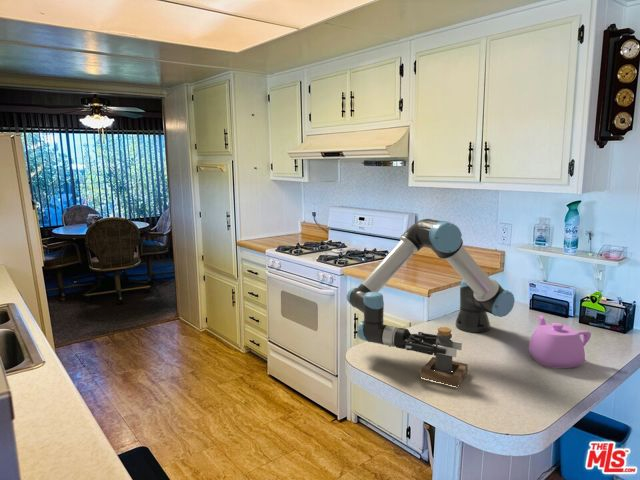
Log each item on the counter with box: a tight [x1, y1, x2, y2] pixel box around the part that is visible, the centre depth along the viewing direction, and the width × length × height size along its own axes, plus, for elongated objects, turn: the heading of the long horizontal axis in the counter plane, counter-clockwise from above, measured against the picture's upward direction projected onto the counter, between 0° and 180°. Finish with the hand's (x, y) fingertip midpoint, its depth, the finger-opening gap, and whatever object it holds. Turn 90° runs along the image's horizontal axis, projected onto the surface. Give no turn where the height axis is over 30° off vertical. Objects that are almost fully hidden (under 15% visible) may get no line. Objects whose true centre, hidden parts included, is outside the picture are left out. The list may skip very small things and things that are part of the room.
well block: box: [419, 356, 469, 387], centre depth 159 cm, size 13×13×4 cm
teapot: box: [528, 314, 592, 369], centre depth 170 cm, size 23×21×15 cm
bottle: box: [434, 326, 453, 374], centre depth 158 cm, size 6×6×15 cm
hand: (458, 349), depth 155 cm, fingers closed on bottle, 6 cm apart
